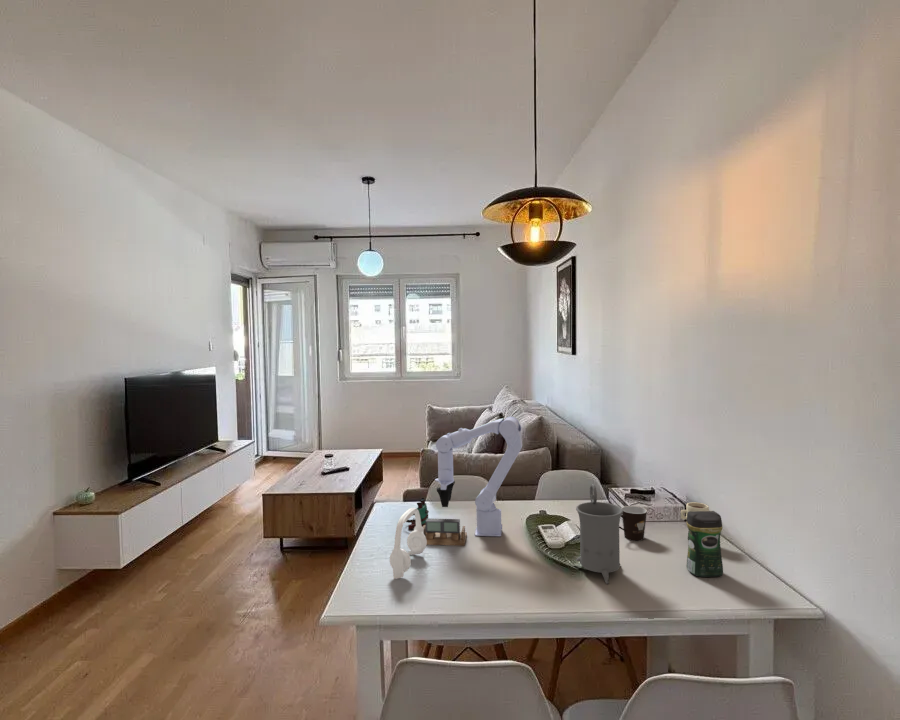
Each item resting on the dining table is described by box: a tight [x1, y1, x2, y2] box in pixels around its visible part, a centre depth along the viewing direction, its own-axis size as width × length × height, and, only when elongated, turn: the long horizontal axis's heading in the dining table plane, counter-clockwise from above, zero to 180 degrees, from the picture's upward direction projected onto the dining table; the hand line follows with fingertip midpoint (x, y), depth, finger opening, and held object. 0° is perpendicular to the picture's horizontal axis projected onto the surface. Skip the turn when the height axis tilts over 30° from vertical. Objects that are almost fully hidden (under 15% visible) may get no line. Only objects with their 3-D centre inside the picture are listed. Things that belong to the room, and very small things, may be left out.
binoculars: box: [405, 497, 429, 530], centre depth 202 cm, size 9×11×10 cm
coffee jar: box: [686, 510, 724, 578], centre depth 159 cm, size 10×8×19 cm
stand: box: [423, 525, 468, 547], centre depth 189 cm, size 16×10×4 cm, turn 83°
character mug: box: [680, 501, 710, 541], centre depth 182 cm, size 11×7×13 cm, turn 81°
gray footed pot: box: [575, 483, 623, 585], centre depth 161 cm, size 19×15×25 cm
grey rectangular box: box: [426, 517, 461, 533], centre depth 188 cm, size 12×3×4 cm, turn 83°
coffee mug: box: [619, 505, 648, 542], centre depth 187 cm, size 12×9×10 cm
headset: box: [389, 507, 427, 580], centre depth 166 cm, size 20×7×18 cm, turn 164°
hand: (446, 503), depth 198 cm, fingers open, 7 cm apart
